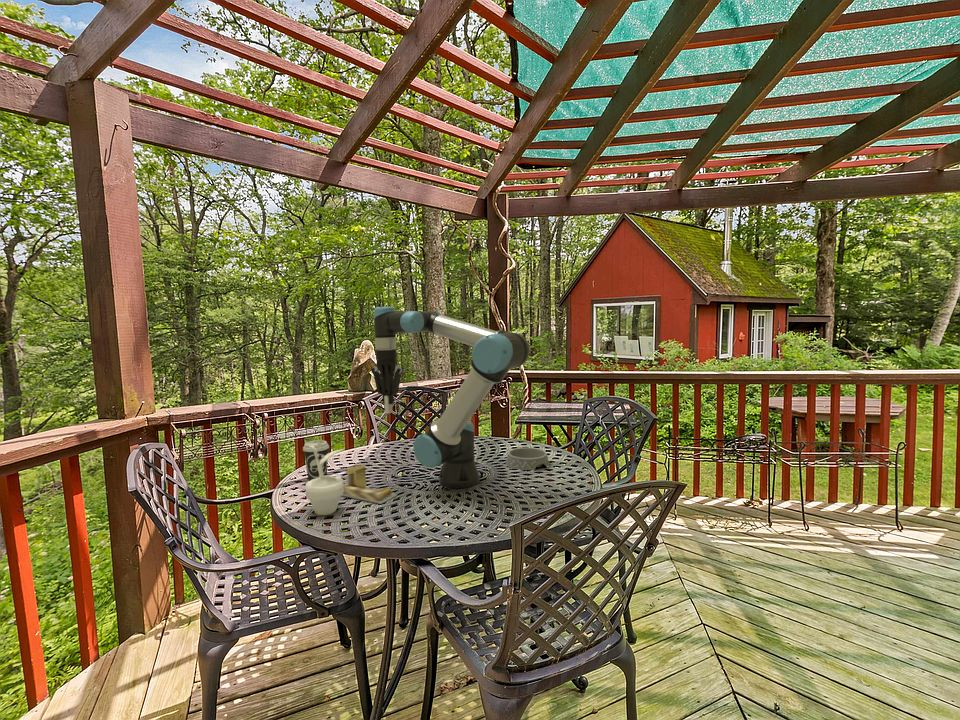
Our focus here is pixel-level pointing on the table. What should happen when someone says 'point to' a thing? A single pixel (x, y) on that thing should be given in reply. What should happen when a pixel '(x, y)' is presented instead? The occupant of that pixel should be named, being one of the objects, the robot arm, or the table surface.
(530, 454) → the dog bowl
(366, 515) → the table surface
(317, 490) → the potted plant
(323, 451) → the coffee cup
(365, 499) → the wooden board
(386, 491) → the beige flat bent piece
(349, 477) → the sliding head
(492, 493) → the table surface
